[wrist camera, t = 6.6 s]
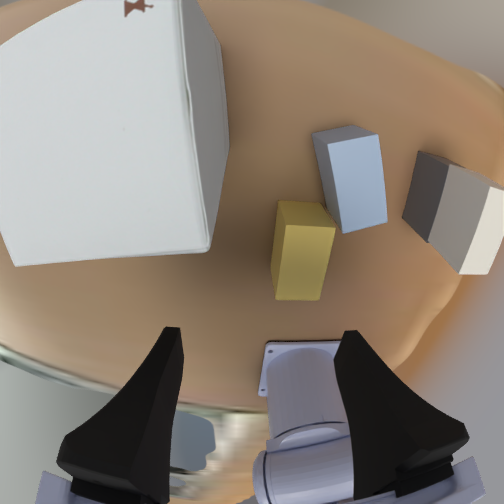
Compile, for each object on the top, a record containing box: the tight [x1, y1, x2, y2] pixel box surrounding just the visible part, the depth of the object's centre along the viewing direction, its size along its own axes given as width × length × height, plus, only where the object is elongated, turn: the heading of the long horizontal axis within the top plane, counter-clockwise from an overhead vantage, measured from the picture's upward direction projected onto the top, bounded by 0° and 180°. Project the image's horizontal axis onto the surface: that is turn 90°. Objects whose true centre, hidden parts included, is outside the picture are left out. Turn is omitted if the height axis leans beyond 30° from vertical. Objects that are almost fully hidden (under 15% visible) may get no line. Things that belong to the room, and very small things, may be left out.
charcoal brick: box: [402, 151, 466, 243], centre depth 18 cm, size 6×3×4 cm, turn 176°
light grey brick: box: [428, 164, 504, 274], centre depth 14 cm, size 6×3×4 cm, turn 176°
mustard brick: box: [271, 200, 336, 300], centre depth 20 cm, size 6×3×4 cm, turn 176°
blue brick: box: [311, 125, 387, 234], centre depth 17 cm, size 6×3×4 cm, turn 16°
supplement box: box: [0, 0, 230, 267], centre depth 11 cm, size 7×7×13 cm
